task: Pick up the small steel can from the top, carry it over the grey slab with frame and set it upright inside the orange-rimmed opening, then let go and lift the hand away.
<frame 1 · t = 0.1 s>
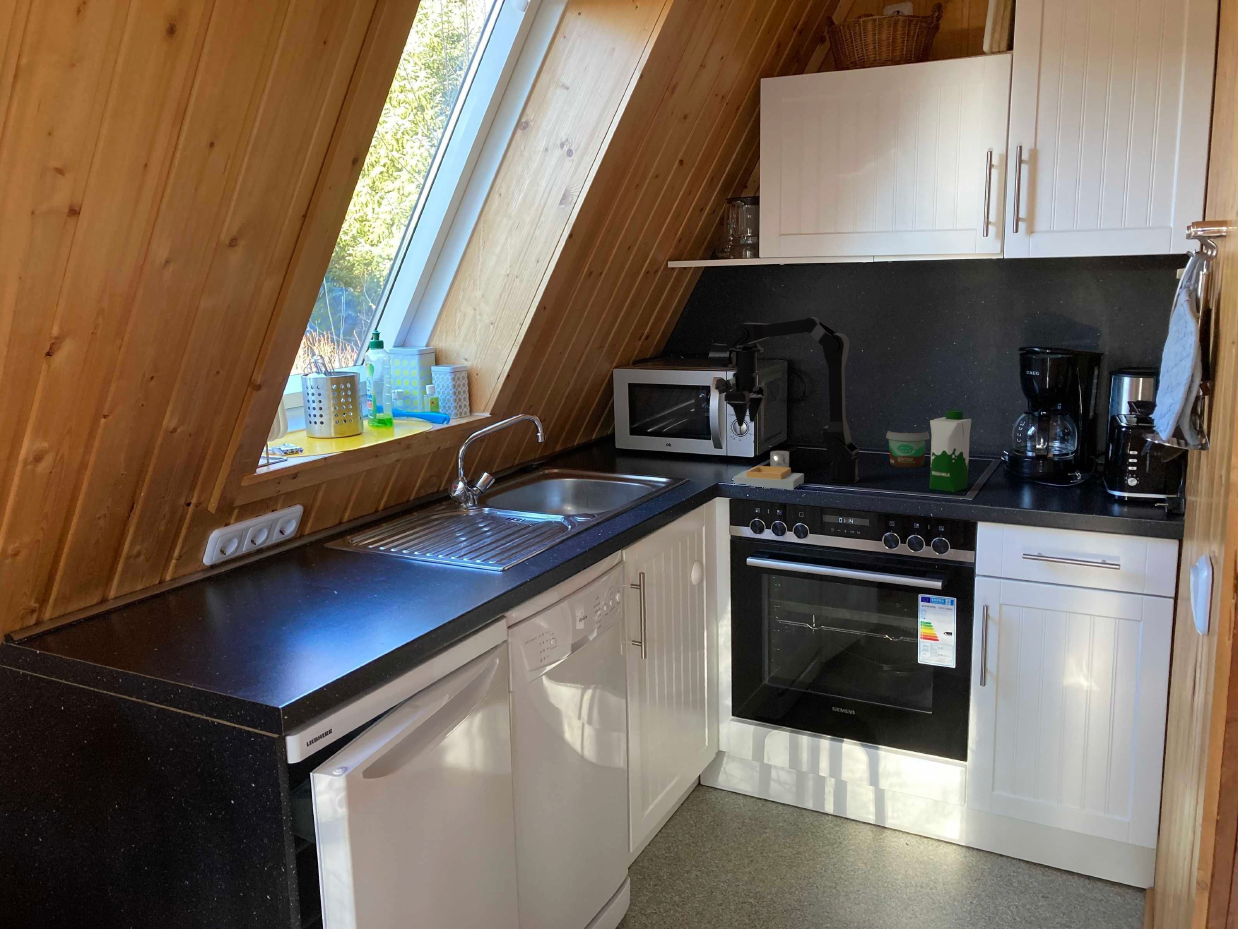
hand: (746, 424, 282), 15 cm above the cooktop, tool pointing down, fingers open, 9 cm apart
steel can: (779, 473, 286), on the cooktop
milk carton: (947, 489, 260), on the cooktop
food container: (907, 466, 292), on the cooktop
grey slab with frame: (768, 484, 270), on the cooktop
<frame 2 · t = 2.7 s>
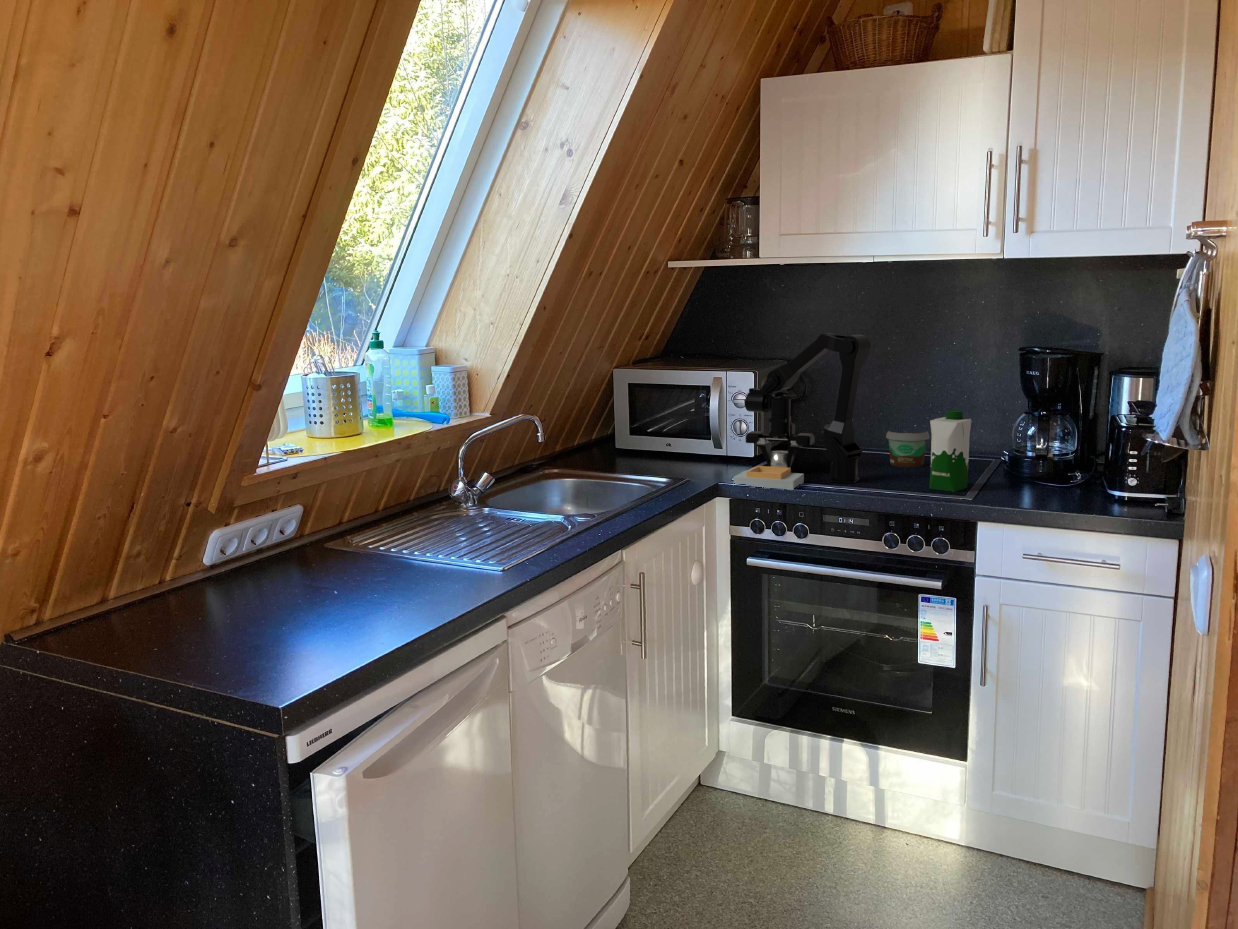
hand: (779, 468, 286), 1 cm above the cooktop, tool pointing down, fingers closed on steel can, 5 cm apart
steel can: (779, 472, 286), on the cooktop, touching gripper
everything else where it was.
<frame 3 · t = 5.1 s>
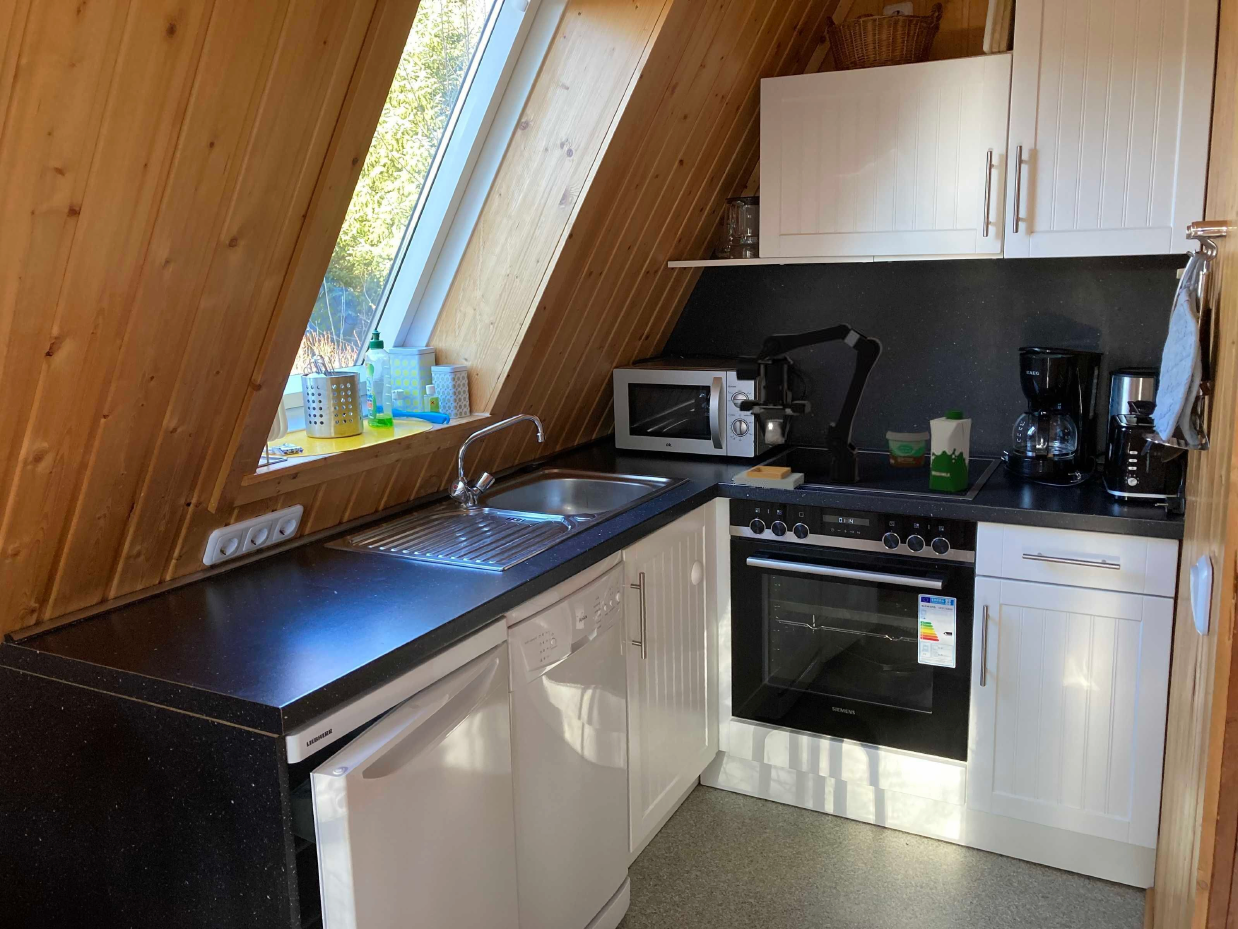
hand: (774, 437, 277), 11 cm above the cooktop, tool pointing down, fingers closed on steel can, 5 cm apart
steel can: (774, 442, 277), point 10 cm above the cooktop, touching gripper
everything else where it was.
when the fingers open (5 cm above the cooktop, at t = 7.8 s): steel can stays where it is, resting on grey slab with frame.
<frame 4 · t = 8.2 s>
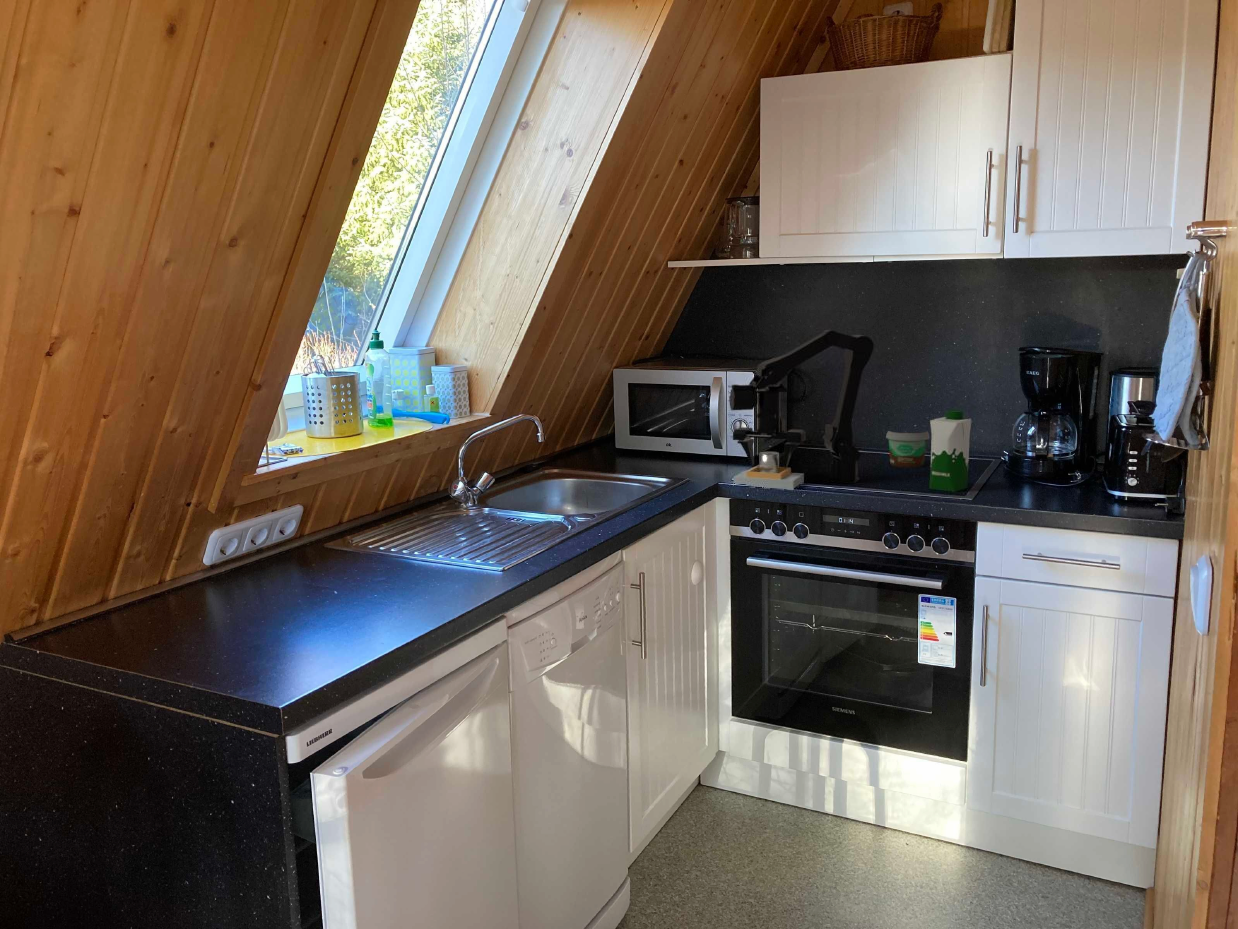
hand: (769, 466, 269), 5 cm above the cooktop, tool pointing down, fingers open, 9 cm apart
steel can: (769, 475, 270), point 3 cm above the cooktop, touching grey slab with frame
everything else where it was.
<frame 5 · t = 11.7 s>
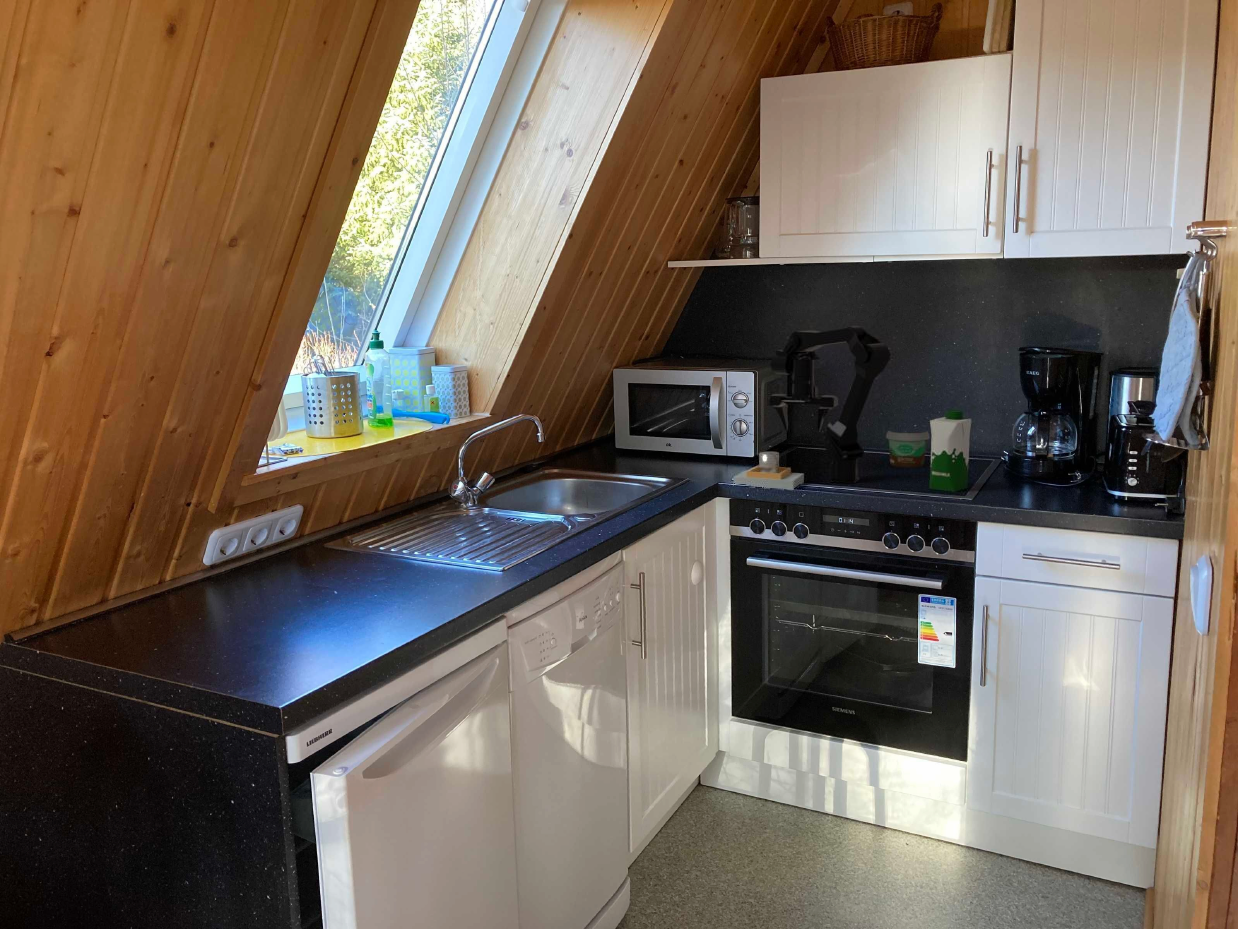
hand: (802, 431, 283), 12 cm above the cooktop, tool pointing down, fingers open, 9 cm apart
nothing on the cooktop moved.
at the end: steel can 0.1 cm off-centre on the grey slab with frame, point 2.5 cm above the grey slab with frame's base; steel can tilted 1°; the gripper is holding nothing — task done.
